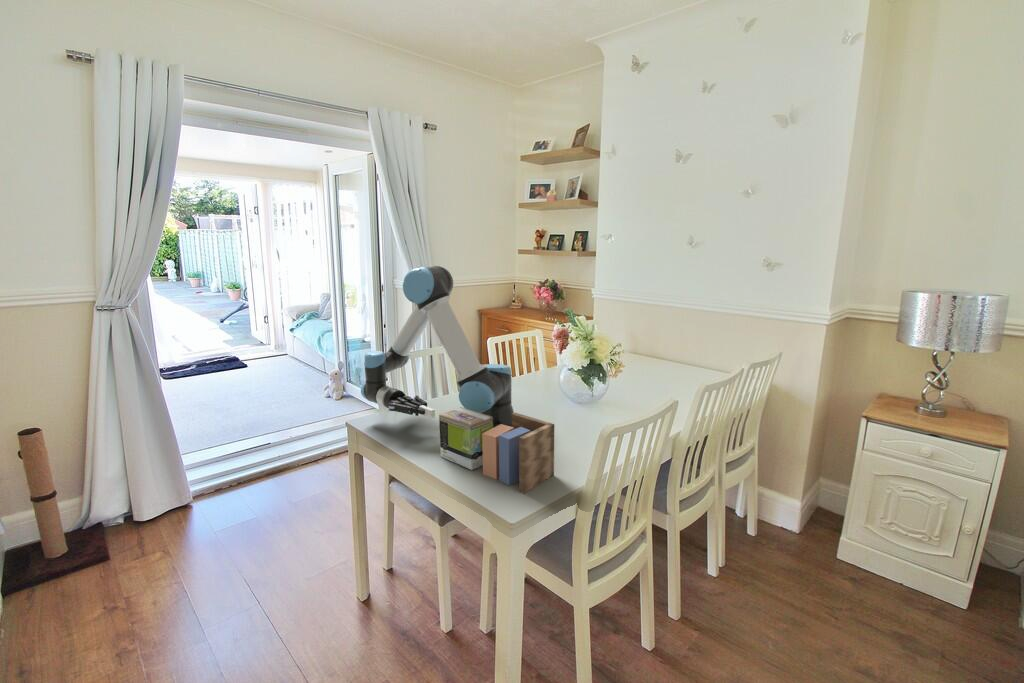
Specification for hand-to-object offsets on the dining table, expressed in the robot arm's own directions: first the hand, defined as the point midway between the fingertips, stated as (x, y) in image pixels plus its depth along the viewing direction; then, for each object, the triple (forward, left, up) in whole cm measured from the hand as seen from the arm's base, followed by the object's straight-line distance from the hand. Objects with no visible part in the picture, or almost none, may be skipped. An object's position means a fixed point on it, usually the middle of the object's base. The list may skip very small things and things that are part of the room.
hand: (433, 413), depth 159 cm
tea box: (0, +16, -12) cm, 19 cm away
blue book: (-1, +36, -12) cm, 37 cm away
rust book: (-1, +29, -12) cm, 31 cm away
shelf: (-2, +36, -11) cm, 38 cm away
